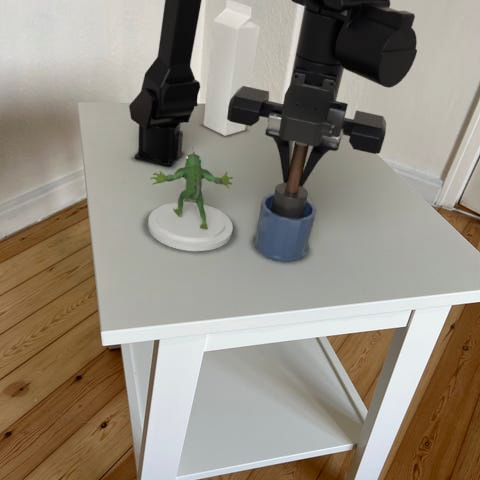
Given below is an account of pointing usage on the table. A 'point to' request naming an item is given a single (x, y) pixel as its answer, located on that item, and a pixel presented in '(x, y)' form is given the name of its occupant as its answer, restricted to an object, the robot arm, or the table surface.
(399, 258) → the table surface
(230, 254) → the table surface
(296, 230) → the blue plastic cup
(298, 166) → the wooden peg on base
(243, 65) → the milk
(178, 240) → the green frog figurine
